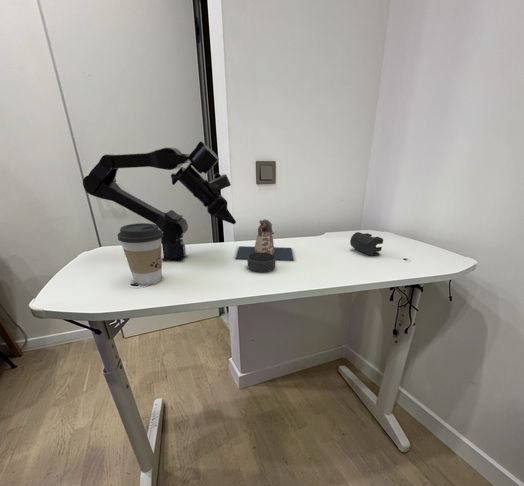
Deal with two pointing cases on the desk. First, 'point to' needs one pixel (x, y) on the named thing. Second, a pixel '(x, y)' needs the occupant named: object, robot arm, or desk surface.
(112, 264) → the desk surface
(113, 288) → the desk surface
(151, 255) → the coffee cup
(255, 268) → the smart speaker
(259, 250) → the figurine
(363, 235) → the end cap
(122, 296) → the desk surface
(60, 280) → the desk surface
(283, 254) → the mat
